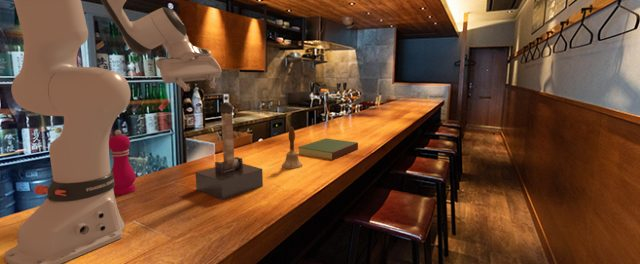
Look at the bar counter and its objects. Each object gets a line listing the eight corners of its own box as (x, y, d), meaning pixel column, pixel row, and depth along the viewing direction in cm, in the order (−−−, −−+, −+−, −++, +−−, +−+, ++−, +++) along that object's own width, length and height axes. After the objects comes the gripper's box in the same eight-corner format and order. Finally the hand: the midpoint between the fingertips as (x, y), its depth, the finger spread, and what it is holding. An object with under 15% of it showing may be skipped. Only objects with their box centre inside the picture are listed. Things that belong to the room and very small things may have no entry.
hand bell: (305, 167, 137) (305, 128, 134) (285, 169, 134) (284, 129, 131) (298, 162, 144) (298, 124, 142) (279, 164, 141) (278, 126, 139)
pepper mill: (125, 196, 105) (118, 132, 101) (105, 194, 107) (98, 131, 103) (142, 188, 112) (136, 128, 108) (123, 186, 114) (116, 127, 110)
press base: (196, 189, 111) (194, 161, 109) (236, 177, 124) (235, 152, 122) (222, 199, 103) (221, 169, 101) (262, 186, 115) (262, 158, 113)
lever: (217, 170, 111) (214, 102, 107) (233, 166, 115) (230, 101, 111) (225, 172, 108) (222, 103, 104) (240, 168, 113) (238, 102, 109)
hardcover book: (333, 160, 149) (333, 152, 148) (298, 155, 159) (298, 147, 158) (358, 149, 170) (358, 142, 169) (326, 145, 179) (326, 138, 179)
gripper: (155, 52, 109) (172, 85, 105) (213, 50, 123) (230, 79, 120) (151, 65, 113) (168, 98, 109) (208, 61, 128) (224, 90, 124)
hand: (201, 88), depth 115 cm, fingers open, 8 cm apart
